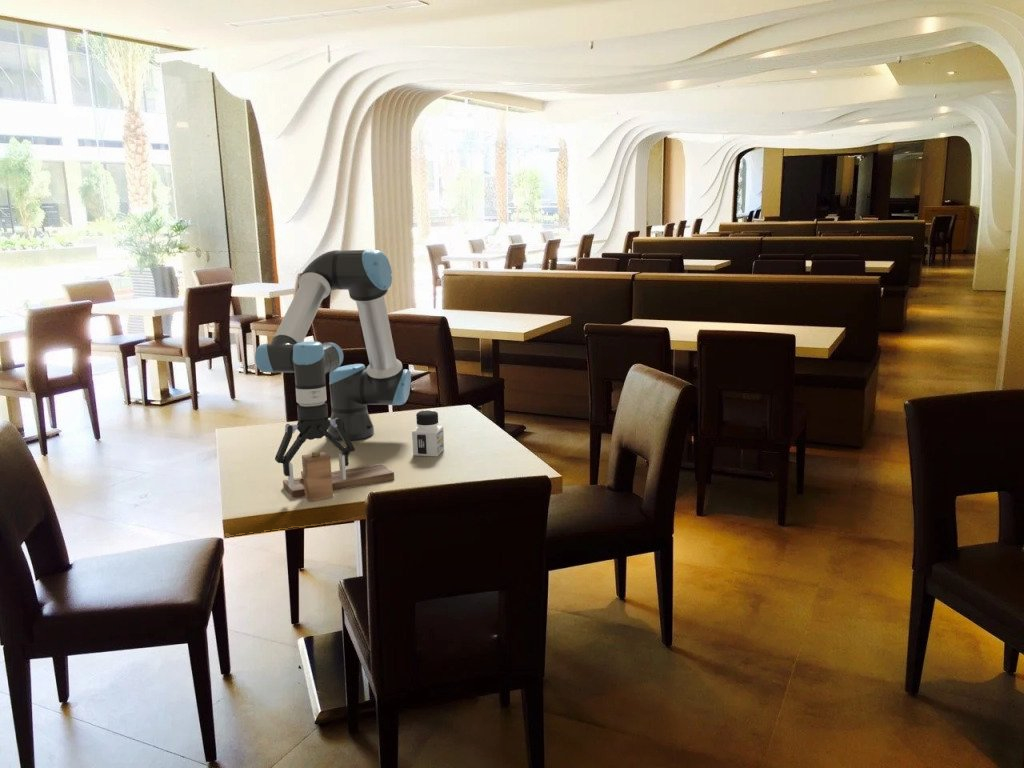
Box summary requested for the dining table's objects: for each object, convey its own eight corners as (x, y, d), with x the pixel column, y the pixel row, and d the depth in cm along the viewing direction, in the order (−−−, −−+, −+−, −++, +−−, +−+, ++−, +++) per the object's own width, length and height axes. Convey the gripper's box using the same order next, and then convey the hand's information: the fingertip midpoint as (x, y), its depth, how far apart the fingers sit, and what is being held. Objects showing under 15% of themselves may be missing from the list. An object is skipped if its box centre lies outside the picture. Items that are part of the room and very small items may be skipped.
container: (437, 456, 246) (435, 414, 244) (412, 455, 248) (410, 414, 245) (444, 449, 254) (442, 408, 251) (420, 448, 255) (418, 408, 253)
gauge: (295, 485, 222) (292, 444, 220) (317, 482, 225) (314, 440, 222) (310, 501, 210) (306, 457, 207) (333, 497, 213) (329, 453, 210)
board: (283, 487, 221) (282, 480, 221) (381, 469, 235) (381, 462, 234) (293, 498, 213) (292, 490, 212) (394, 479, 226) (393, 472, 226)
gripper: (265, 412, 199) (272, 495, 203) (363, 399, 211) (368, 478, 215) (258, 406, 205) (265, 487, 210) (354, 394, 217) (359, 471, 222)
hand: (317, 482), depth 212 cm, fingers open, 13 cm apart
